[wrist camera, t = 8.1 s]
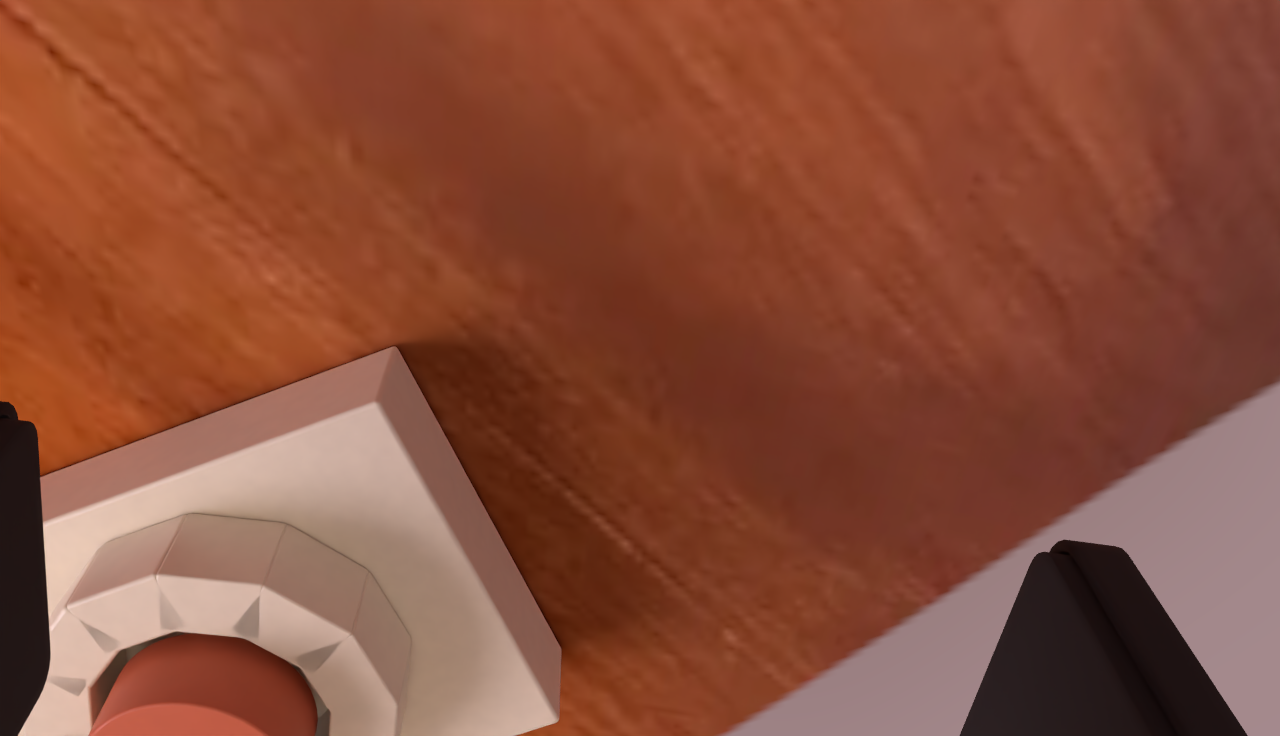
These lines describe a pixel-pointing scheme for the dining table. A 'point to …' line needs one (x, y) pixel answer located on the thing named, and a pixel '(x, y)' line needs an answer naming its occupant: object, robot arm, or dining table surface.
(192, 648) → the button
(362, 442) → the control block
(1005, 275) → the dining table surface
